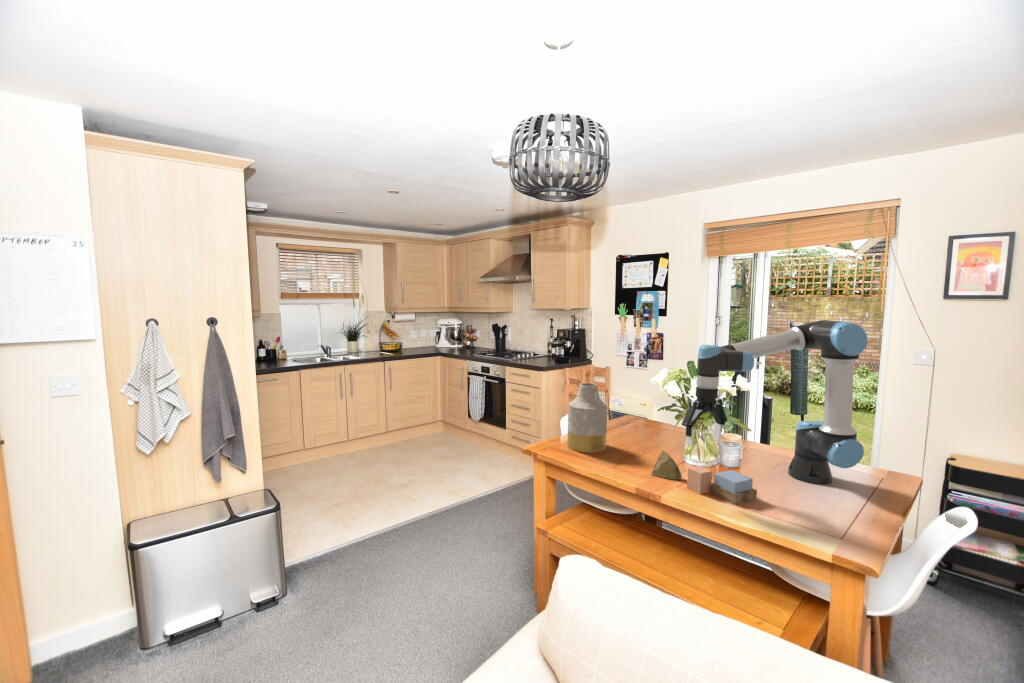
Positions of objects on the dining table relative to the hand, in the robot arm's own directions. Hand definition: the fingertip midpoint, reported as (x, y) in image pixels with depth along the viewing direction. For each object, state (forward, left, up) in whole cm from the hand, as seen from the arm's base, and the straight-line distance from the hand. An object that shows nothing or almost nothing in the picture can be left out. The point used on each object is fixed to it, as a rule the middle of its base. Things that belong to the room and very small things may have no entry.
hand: (703, 442), depth 174 cm
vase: (+13, -59, -19) cm, 63 cm away
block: (0, -1, -19) cm, 19 cm away
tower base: (-7, +8, -19) cm, 22 cm away
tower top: (-7, +8, -15) cm, 19 cm away
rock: (+3, -15, -19) cm, 24 cm away
